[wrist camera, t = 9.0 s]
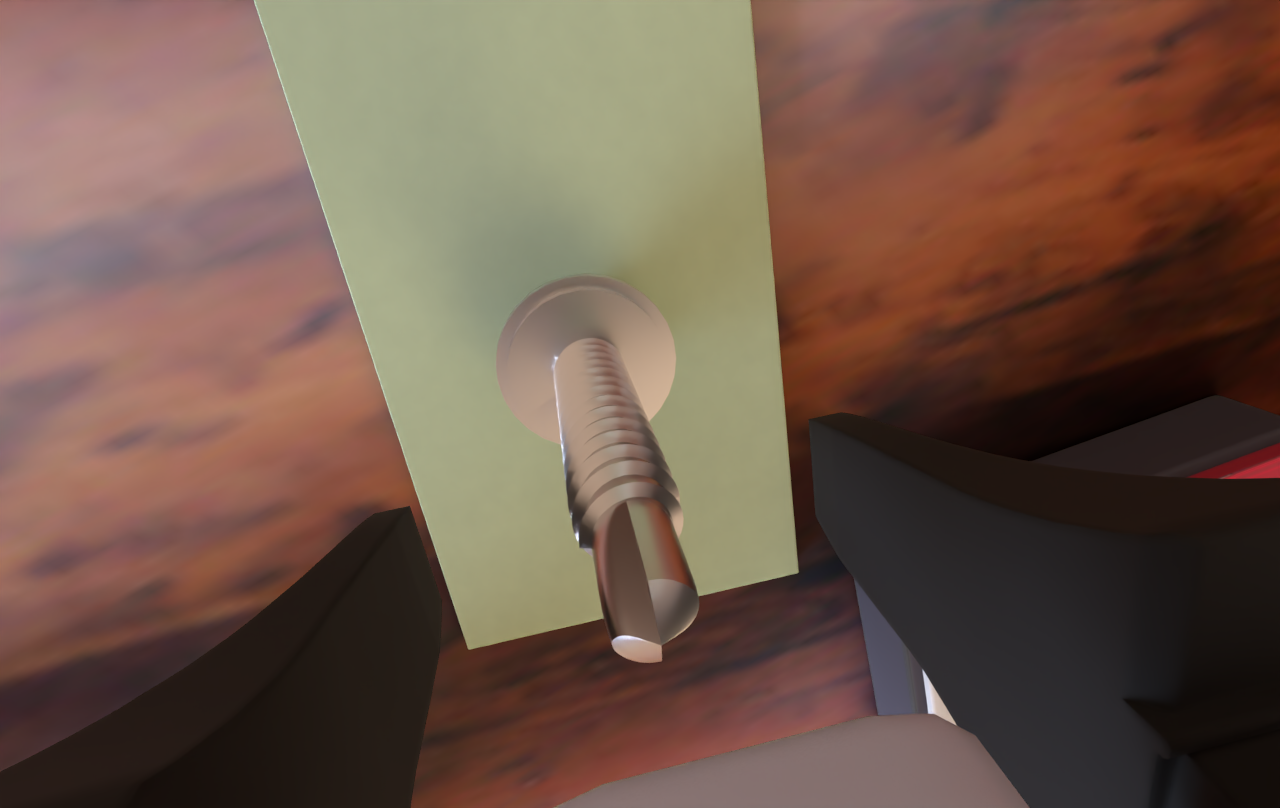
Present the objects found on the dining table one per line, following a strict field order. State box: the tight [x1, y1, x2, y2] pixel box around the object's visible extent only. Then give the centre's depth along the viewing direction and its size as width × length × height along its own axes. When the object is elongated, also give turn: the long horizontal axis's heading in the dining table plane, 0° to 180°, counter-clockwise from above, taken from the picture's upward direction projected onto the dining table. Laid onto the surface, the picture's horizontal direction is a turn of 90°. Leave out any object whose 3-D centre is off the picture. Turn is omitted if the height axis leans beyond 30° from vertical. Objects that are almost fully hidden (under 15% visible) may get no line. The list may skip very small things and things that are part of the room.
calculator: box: [854, 395, 1280, 726], centre depth 25 cm, size 11×4×15 cm
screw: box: [496, 273, 699, 663], centre depth 14 cm, size 13×5×5 cm
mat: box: [254, 0, 799, 650], centre depth 20 cm, size 20×12×1 cm, turn 9°
